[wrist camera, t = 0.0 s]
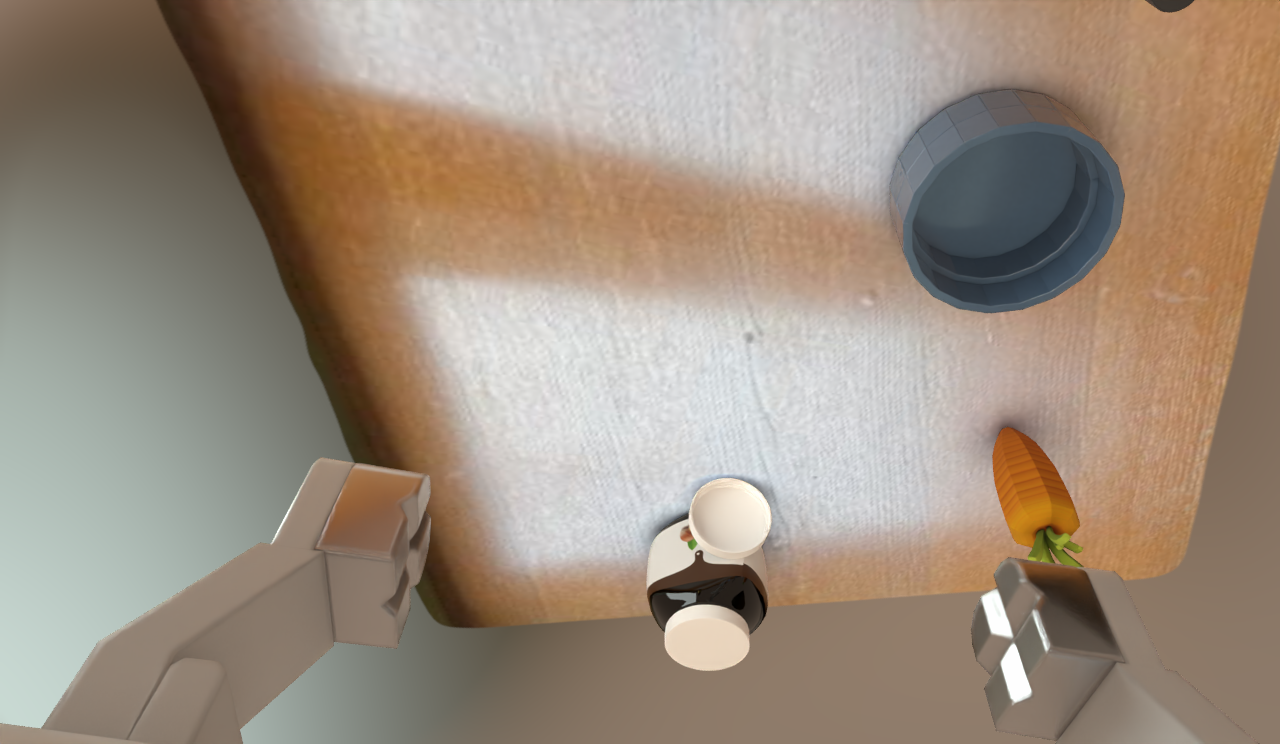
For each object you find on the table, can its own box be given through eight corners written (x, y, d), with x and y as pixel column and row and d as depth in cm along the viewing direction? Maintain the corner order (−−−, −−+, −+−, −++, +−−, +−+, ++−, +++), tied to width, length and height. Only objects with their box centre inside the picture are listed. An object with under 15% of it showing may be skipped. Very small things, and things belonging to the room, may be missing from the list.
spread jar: (668, 574, 85) (663, 682, 76) (626, 491, 79) (614, 597, 70) (793, 550, 82) (804, 659, 73) (759, 461, 76) (766, 568, 66)
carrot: (960, 430, 72) (1009, 575, 60) (1012, 394, 70) (1074, 538, 58) (999, 461, 74) (1054, 609, 62) (1051, 427, 72) (1119, 574, 60)
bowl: (923, 71, 56) (943, 106, 51) (1125, 103, 56) (1163, 141, 51) (864, 251, 63) (877, 297, 59) (1042, 278, 64) (1069, 326, 59)
